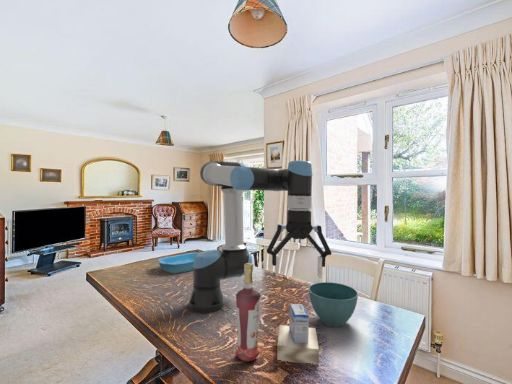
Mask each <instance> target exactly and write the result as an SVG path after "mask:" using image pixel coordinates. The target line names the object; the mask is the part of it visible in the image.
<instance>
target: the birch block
mask: <svg viewBox="0 0 512 384" xmlns="http://www.w3.org/2000/svg"><path fill="white" fill-rule="evenodd" d="M276 348H277V351H276V353H277V356H276V357H277V360H276V361H278V360H281V361H280V362H287V361H288V362H289V363H300V364H306V363H311V364H310V365H316V364H320V363H319V361H320V360H319V359H320V353H319V352H320V349H319V342H318V336H317V330H316V327H309V337H308V343H294V341H293V338H292V335H291V332H290V330H289V325H285V324H284V325H282V324H279V328H278V338H277V347H276ZM288 362H287V363H288ZM312 363H313V364H312Z"/></svg>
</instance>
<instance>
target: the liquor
mask: <svg viewBox="0 0 512 384" xmlns="http://www.w3.org/2000/svg"><path fill="white" fill-rule="evenodd" d="M253 266H254V264H253V262H252V263H245V264H244V272H245V275H244V281H243V288H242V289H240V290H239V291H237V292H236V294H235V299H236V300H235V302H236V303H235V304H236V306H235V307H236V308H235V309H236V326H237V327H236V329H237V331H236V332H237V333H236V334H237V350H236V352H235V355H236V356H237V358H238V359H240V360H241V361H242V362H244V361H247V362H246V363H249V362H248V361H251V362H253V361H254V360H255V359H257V358H258V357H259V355H260V352H259V349H258V347H259V346H258V345H259V344H258V342H259V340H258V339H259V338H258V337H259V324H260V323H259V320H260V310H261V309H260V308H261V306H260V305H261V294H260V292H259V291H258V290H256V289H254V281H253V272H254V271H253V270H254V267H253ZM252 360H253V361H252Z"/></svg>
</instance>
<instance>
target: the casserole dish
mask: <svg viewBox="0 0 512 384" xmlns="http://www.w3.org/2000/svg"><path fill="white" fill-rule="evenodd" d="M198 253H199V252H188V253H183V254H177V255H172V256H166V257H161V258H159V259H157V260H158V264H159V266H160V269H161V270H162V271H165V272H167V273H169V274H181V273H186V272H191V271H193V264H194V257H195V256H196V255H197V254H198Z"/></svg>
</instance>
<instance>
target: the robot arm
mask: <svg viewBox="0 0 512 384" xmlns="http://www.w3.org/2000/svg"><path fill="white" fill-rule="evenodd" d="M199 176H200V178H201V180H202V181H203V183H205V184H207V185H209V186H212V187H213V186H215V187H216V186H217V187H220V191H221V192H222V193H223V194H224V195H223V196H224V198H223V199H224V238H225V239H224V241H225V242H224V243H225V244H224V245H223V247H222V248H221V251H220V250H218V249H208V250H204V251H201V252H197V253H198V254H197V255H196V256H195V257H194V264H193V270H192V271H193V274H192V275H193V279H192V281H193V282H192V285H193V286H192V291H191V294H190V297H189V300H188V308H189V310H190V311H192V312H195V313H201V314H204V313H205V314H206V313H207V314H208V313H214V312H217V311H219V310H220V309H222V308H223V307H224V306H225V305H224V304H225V303H224V302H225V300H224V295H223V292H222V289H221V280H226V279H232V278H239V277H243V276H245V272H244V264H245V263H252V264H253V257H252V253H251V252H250V250H248V247H247V246H246V245H245V244H244V215H243V214H244V212H243V210H244V209H243V207H244V206H243V193H244V192H245V191H265V192H266V191H267V192H268V191H269V192H287V206H286V207H287V209H288V210H287V217H286V218H287V219H286V220H287V221H286V222H287V223H286V225H285V224H281V223H278V224H277V225H276V226H277V227H276V231H275V232H274V235H273V237H272V238H271V241H270V243H269V245H268V246H267V249H266V253H267V254H268V255H271V256H272V257H271V264H272V266H273V267H275V273H274V274H275V278H278V277H279V259H280V257H279V252H281V250H282V249H283V248H284V247H285V245H287V243H288V242H289V241H291V239H294V240H305V239H307V240H308V241H309V242H310V244H311V245H312V246H313V247H314V249H316V251H317V252H318V253H319V254H318V255H317V277H318V279H323V268H325V267H326V258H327V256H331V255H332V251H331V248H330V246H329V245H328V243H327V240H326V238H325V236H324V234H323V232H322V231H323V230H322V229H323V228H322V226H321V225H320V224H316V225H312V211H311V209H312V189H313V188H312V185H313V166H312V162H311V161H307V160H291V161H289V162H288V166H287V168H284V169H283V168H282V169H278V168H268V167H267V168H264V167H263V168H262V167H253V166H252V167H251V166H246V164H244V163H242V162H234V161H221V160H220V161H219V160H212V161H211V160H210V161H208V162H205V163H204V164H203V165H202V166H201V168H200V170H199ZM284 230H285V231H287V234H286V235H285V237H283V239H281V241H280V242H279V243H278V244H277V246H276V247H275V244H276V243H277V241H278V240H279V238H280V236H281V233H282V232H284ZM312 231H314V232H316V234H317V236H318V239H319V240H320V243H321V244H322V247H323V249H324V250H323V249H322V248H321V247H320V246H319V244H318V243H317V241H316V240H315V239H314V238H313V237H312V236H311V235H310V234H311V233H312ZM274 247H275V248H274Z"/></svg>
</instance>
